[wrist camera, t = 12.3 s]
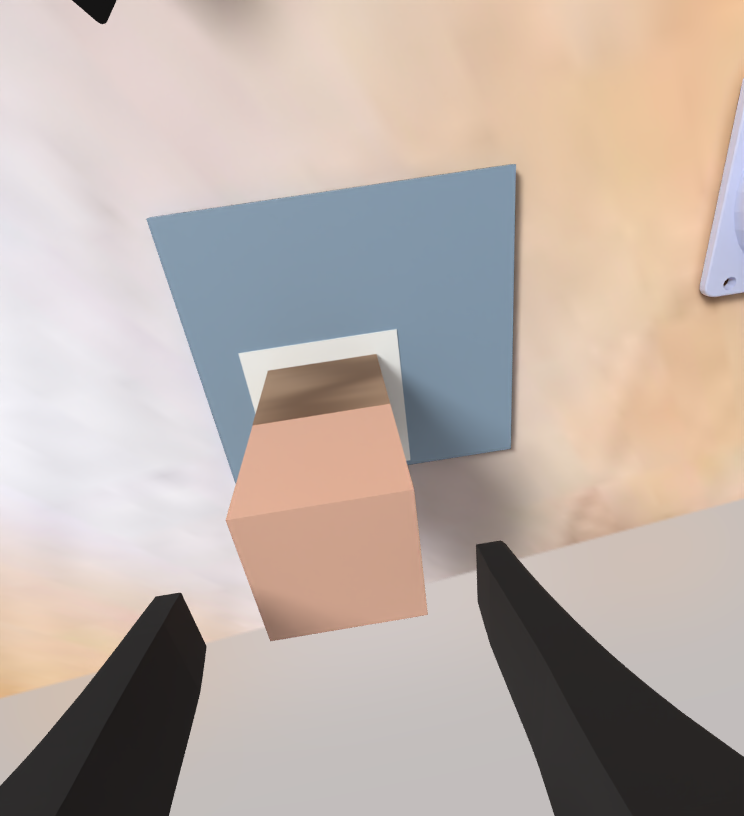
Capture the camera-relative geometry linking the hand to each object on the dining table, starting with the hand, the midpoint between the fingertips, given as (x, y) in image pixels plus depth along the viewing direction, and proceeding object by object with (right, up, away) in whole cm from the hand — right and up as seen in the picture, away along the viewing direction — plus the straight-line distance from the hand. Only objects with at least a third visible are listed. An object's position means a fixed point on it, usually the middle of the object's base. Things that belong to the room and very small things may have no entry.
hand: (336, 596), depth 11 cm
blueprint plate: (0, +7, +8) cm, 11 cm away
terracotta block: (0, +2, +5) cm, 5 cm away
